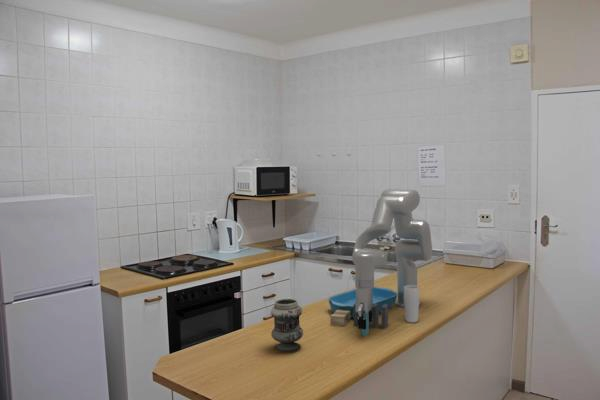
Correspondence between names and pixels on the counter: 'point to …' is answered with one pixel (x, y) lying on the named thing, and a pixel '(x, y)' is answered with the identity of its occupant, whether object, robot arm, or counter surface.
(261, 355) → the counter surface
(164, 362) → the counter surface
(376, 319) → the domino
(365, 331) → the domino teal
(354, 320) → the domino
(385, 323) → the domino
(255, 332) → the counter surface
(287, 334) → the apothecary jar
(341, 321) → the oak block
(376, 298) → the casserole dish
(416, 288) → the drinking glass
